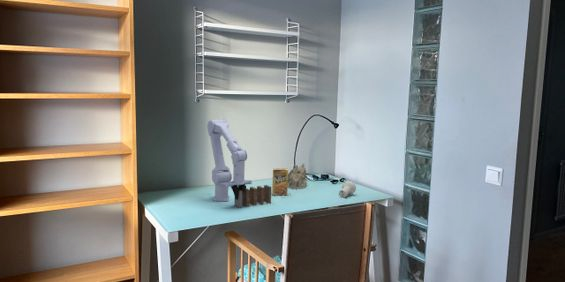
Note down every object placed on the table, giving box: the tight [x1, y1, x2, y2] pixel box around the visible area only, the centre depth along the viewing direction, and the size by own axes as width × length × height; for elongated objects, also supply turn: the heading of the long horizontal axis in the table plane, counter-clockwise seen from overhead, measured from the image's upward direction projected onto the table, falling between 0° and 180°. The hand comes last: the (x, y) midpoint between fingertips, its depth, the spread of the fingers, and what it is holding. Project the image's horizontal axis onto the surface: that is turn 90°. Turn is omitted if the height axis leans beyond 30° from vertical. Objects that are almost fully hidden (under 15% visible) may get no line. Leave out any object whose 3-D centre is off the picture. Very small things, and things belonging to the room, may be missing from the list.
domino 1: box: [233, 190, 243, 209], centre depth 220 cm, size 2×5×9 cm, turn 37°
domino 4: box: [256, 185, 265, 205], centre depth 228 cm, size 2×5×9 cm, turn 34°
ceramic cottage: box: [287, 162, 308, 190], centre depth 269 cm, size 16×16×15 cm
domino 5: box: [263, 184, 272, 204], centre depth 230 cm, size 2×5×9 cm, turn 34°
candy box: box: [271, 167, 289, 196], centre depth 246 cm, size 9×4×15 cm, turn 92°
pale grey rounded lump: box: [338, 180, 357, 198], centre depth 250 cm, size 8×11×8 cm
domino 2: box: [242, 187, 250, 208], centre depth 223 cm, size 2×5×9 cm, turn 34°
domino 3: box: [249, 186, 258, 207], centre depth 225 cm, size 2×5×9 cm, turn 34°
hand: (238, 198), depth 220 cm, fingers closed on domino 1, 2 cm apart
